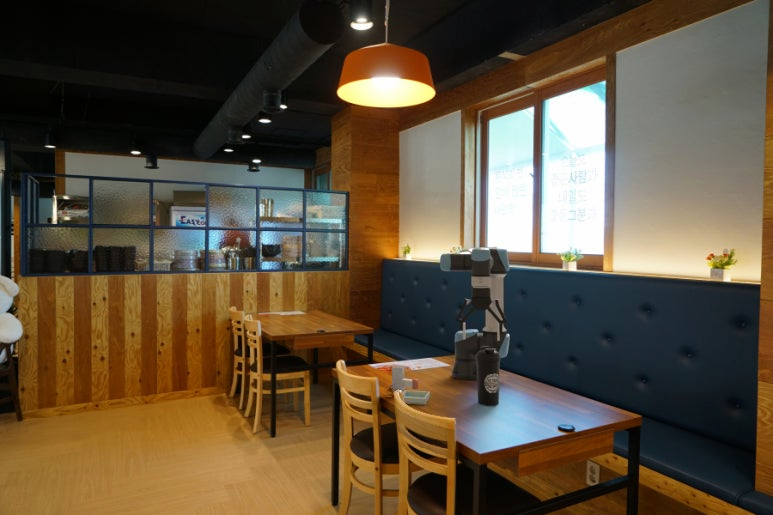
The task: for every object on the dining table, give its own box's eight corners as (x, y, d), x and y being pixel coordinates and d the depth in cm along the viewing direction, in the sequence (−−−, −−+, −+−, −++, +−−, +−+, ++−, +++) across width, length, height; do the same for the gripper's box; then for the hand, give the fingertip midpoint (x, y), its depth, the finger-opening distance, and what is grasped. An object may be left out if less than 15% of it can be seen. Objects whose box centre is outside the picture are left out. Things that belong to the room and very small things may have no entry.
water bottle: (482, 407, 208) (482, 350, 207) (471, 400, 217) (471, 346, 217) (505, 405, 210) (505, 349, 210) (493, 398, 220) (493, 344, 220)
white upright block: (394, 392, 231) (394, 365, 231) (404, 392, 230) (404, 366, 230) (392, 395, 226) (392, 367, 226) (402, 395, 225) (402, 368, 225)
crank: (392, 385, 237) (392, 375, 237) (395, 384, 240) (395, 374, 240) (415, 389, 230) (415, 379, 230) (419, 388, 232) (419, 377, 232)
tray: (405, 395, 225) (404, 390, 225) (429, 397, 222) (429, 391, 222) (399, 403, 214) (399, 397, 214) (425, 405, 211) (425, 398, 211)
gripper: (448, 287, 207) (449, 340, 208) (512, 288, 201) (513, 342, 202) (451, 286, 214) (451, 337, 215) (512, 286, 209) (513, 339, 209)
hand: (481, 339), depth 208 cm, fingers open, 13 cm apart
